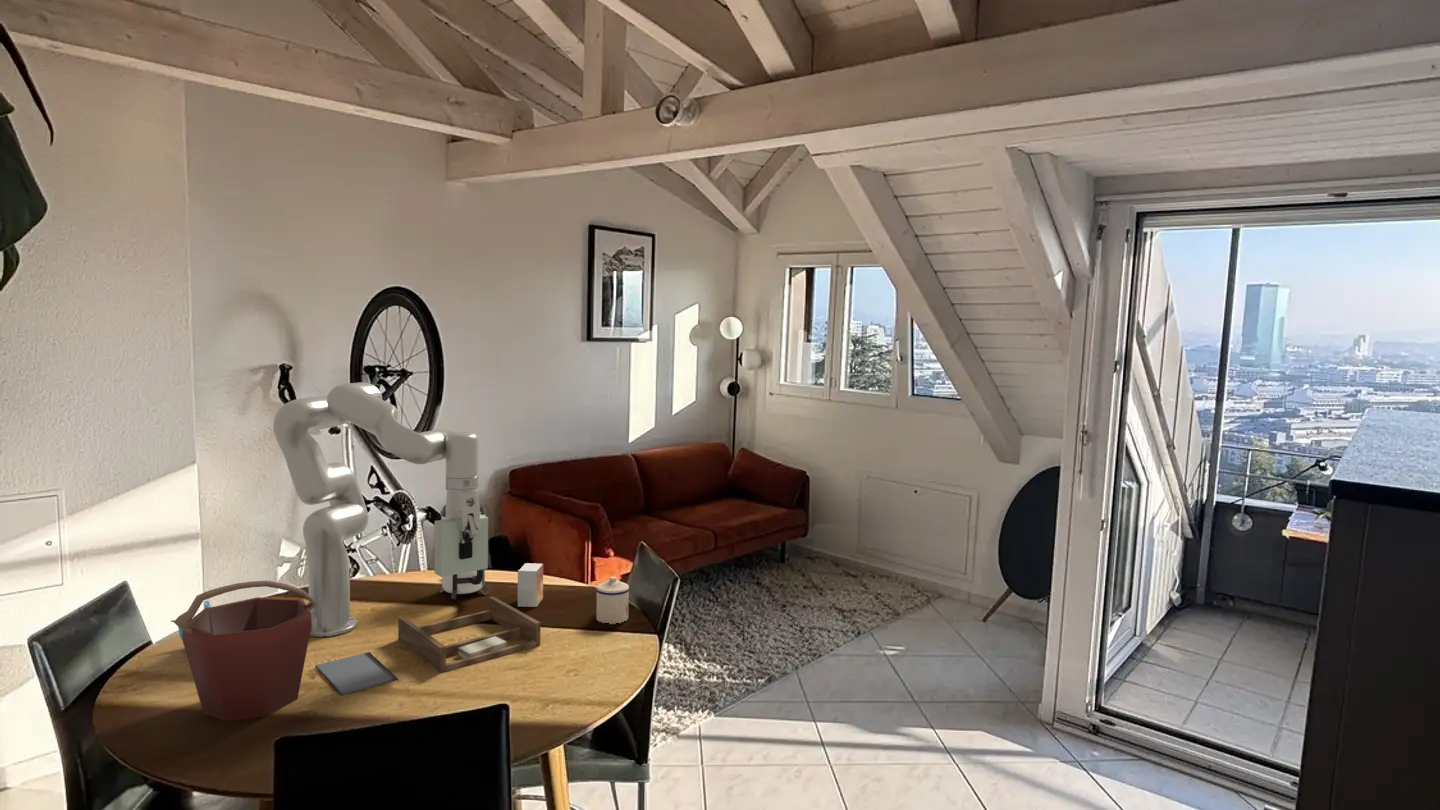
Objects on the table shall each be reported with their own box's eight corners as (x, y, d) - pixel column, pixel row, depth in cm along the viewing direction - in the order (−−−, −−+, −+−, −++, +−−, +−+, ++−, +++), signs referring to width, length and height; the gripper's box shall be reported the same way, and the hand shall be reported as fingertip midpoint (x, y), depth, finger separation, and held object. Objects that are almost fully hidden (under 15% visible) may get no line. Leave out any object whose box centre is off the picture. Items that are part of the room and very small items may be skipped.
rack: (440, 678, 180) (440, 647, 179) (398, 644, 198) (398, 617, 197) (540, 650, 197) (540, 622, 196) (493, 621, 215) (493, 596, 214)
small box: (536, 607, 227) (537, 571, 226) (517, 607, 227) (517, 570, 226) (543, 598, 235) (543, 563, 234) (524, 597, 235) (524, 562, 234)
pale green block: (441, 577, 193) (441, 524, 192) (434, 573, 196) (434, 520, 195) (487, 568, 201) (488, 517, 200) (480, 564, 204) (480, 514, 203)
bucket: (169, 736, 152) (164, 607, 149) (192, 687, 172) (188, 574, 170) (314, 714, 162) (311, 593, 159) (320, 671, 182) (318, 563, 179)
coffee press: (425, 600, 230) (424, 497, 227) (452, 583, 246) (452, 487, 243) (481, 605, 227) (481, 501, 224) (505, 588, 243) (505, 490, 240)
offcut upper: (470, 662, 186) (470, 653, 185) (458, 656, 189) (458, 647, 189) (507, 649, 193) (506, 641, 193) (495, 644, 196) (495, 636, 196)
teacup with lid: (634, 621, 218) (635, 579, 216) (602, 627, 213) (603, 584, 212) (617, 608, 228) (617, 568, 227) (586, 612, 223) (587, 572, 222)
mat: (341, 695, 170) (341, 692, 170) (315, 667, 183) (315, 665, 183) (425, 672, 182) (425, 669, 182) (395, 648, 196) (395, 645, 196)
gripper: (492, 487, 193) (491, 561, 194) (461, 476, 205) (461, 546, 207) (462, 490, 188) (461, 566, 189) (432, 479, 200) (432, 551, 202)
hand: (461, 555), depth 198 cm, fingers closed on pale green block, 4 cm apart
